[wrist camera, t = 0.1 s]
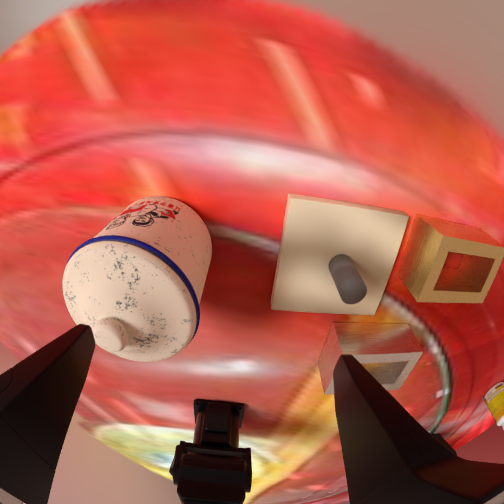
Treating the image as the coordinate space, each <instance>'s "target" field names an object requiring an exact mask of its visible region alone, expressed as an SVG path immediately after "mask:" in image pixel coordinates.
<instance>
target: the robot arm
mask: <svg viewBox="0 0 504 504" xmlns="http://www.w3.org/2000/svg"><path fill="white" fill-rule="evenodd" d="M94 349H95V339H94V335H93V332H92V328H91V327H90V326H89V325H86V324H78V325H77V326H75V327H74V328H72V329H70V330H69V331H67V332H66V333H64V334H63V335H61V336H59V337H58V338H56V339H55V340H53V341H52V342H50V343H48V344H47V345H45V346H44V347H42V348H41V349H39V350H38V351H36V352H35V353H33V354H31V355H30V356H28V357H27V358H25V359H24V360H22V361H21V362H19V363H18V364H16V365H15V366H14V367H13V368H10V369H9V370H7V371H6V372H4V373H2V374H1V375H0V504H23V502H24V503H26V504H47V503H48V499H49V494H50V489H51V486H52V482H53V478H54V474H55V469H56V466H57V463H58V459H59V456H60V453H61V449H62V446H63V443H64V440H65V436H66V434H67V431H68V428H69V425H70V422H71V419H72V416H73V413H74V410H75V407H76V405H77V402H78V399H79V397H80V394H81V391H82V389H83V386H84V383H85V381H86V377H87V374H88V370H89V366H90V363H91V359H92V356H93V353H94ZM333 382H334V397H335V411H336V417H337V423H338V428H339V434H340V440H341V446H342V452H343V459H344V465H345V472H346V478H347V485H348V493H349V500H350V504H504V464H497V463H486V462H478V461H470V460H465V459H462V458H460V457H458V456H457V455H455V454H454V453H453V452H451V451H450V450H449V449H448V448H446V447H445V446H444V445H443V444H442V443H440V442H439V441H438V440H437V439H436V438H434V437H433V436H432V435H431V434H430V433H429V432H428V431H426V430H425V429H424V428H423V427H422V426H421V425H420V424H419V423H418V422H417V421H416V420H415V419H414V418H413V417H412V416H410V414H409V413H408V412H407V411H406V410H405V409H404V408H403V407H402V406H401V405H400V403H399V402H398V401H397V400H396V399H395V398H394V397H393V396H392V395H391V394H390V393H389V392H388V391H387V390H386V389H385V388H384V387H383V386H382V385H381V384H380V383H379V382H378V381H377V380H376V379H375V378H374V377H373V376H372V375H371V374H370V373H369V372H368V371H367V369H366V368H365V367H364V366H363V365H362V364H361V363H360V362H359V361H358V360H357V359H356V358H355V357H354V356H353V355H351V354H342V355H340V357H339V359H338V361H337V363H336V365H335V368H334V370H333ZM243 413H244V405H243V404H237V403H226V402H216V401H207V400H198V399H196V400H194V415H195V423H196V426H195V433H194V440H193V443H188V442H185V441H180V445H177V446H176V451H175V456H174V459H173V462H172V464H171V467H170V470H169V472H170V474H171V475H172V476H173V480H174V484H175V485H178V486H177V493H178V495H179V498H180V501H181V503H182V504H243V502H244V500H245V492H250V490H251V482H252V466H251V448H238V446H239V428H241V424H242V419H243Z"/></svg>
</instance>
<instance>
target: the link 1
mask: <svg viewBox="0 0 504 504" xmlns="http://www.w3.org/2000/svg"><path fill="white" fill-rule="evenodd" d="M422 353H423V350H422V348H421V347H420V345H419V343H418V341H417V339H416V338H415V336H414V334H413V332H412V331H411V329H410V327H409V325H408V324H407V323H346V322H333V323H332V325H331V328H330V331H329V334H328V337H327V339H326V342H325V345H324V347H323V350H322V353H321V355H320V358H319V361H318V366H319V371H320V375H321V380H322V385H323V390H324V394H334V382H333V370H334V368H335V365H336V363H337V361H338V359H339V357H340V355H342V354H351V355H353V356H354V357H355V358H356V359H357V360H358V361H359V362H360V363H361V364H362V365H363V366H364V367H365V368H366V369H367V371H368V372H369V373H370V374H371V375H372V376H373V377H374V378H375V379H376V380H377V381H378V382H379V383H380V384H381V385H382V386H383V387H384V388H385V389H386V390H396V389H399V388H400V387H401V385H402V384H403V383H404V381H405V380H406V378H407V377H408V375H409V374H410V372H411V371H412V369H413V367H414V366H415V364H416V363H417V361H418V360H419V358H420V356H421V355H422Z"/></svg>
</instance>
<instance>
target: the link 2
mask: <svg viewBox="0 0 504 504" xmlns="http://www.w3.org/2000/svg"><path fill="white" fill-rule="evenodd" d="M448 252H455V253H462V254H464V255H463V257H462V260H461V262H460V265H459V267H458V269H455V268H445V267H443V265H444V263H445V260H446V257H447V255H448ZM503 257H504V246H503V245H502V244H500V243H499V242H498V241H497V240H495V239H494V238H493V237H491V236H490V235H489V234H487V233H486V232H484V231H483V230H482V229H480V228H476V227H472V226H468V225H464V224H459V223H455V222H451V221H446V220H442V219H437V218H432V217H428V216H423V215H418V214H416V217H415V220H414V224H413V227H412V230H411V234H410V237H409V240H408V243H407V246H406V249H405V252H404V255H403V258H402V261H401V264H400V266H399V269H398V272H397V275H398V276H399V278H400V279H401V280H402V282H403V283H404V284H405V286H406V287H407V289H408V290H409V291H410V293H411V294H412V296H413V297H414V298H415V300H416V301H417V302H436V303H483V301H484V299H485V297H486V295H487V293H488V291H489V289H490V287H491V284H492V282H493V280H494V278H495V276H496V273H497V271H498V269H499V266H500V264H501V262H502V259H503Z"/></svg>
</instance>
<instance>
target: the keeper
mask: <svg viewBox="0 0 504 504" xmlns="http://www.w3.org/2000/svg"><path fill="white" fill-rule="evenodd" d="M408 218H409V216H408V215H406V214H405V213H404V212H403V211H398V210H392V209H387V208H381V207H376V206H370V205H364V204H358V203H352V202H346V201H339V200H333V199H326V198H319V197H312V196H305V195H297V194H288V200H287V206H286V213H285V219H284V225H283V231H282V237H281V243H280V249H279V255H278V261H277V267H276V273H275V278H274V284H273V290H272V295H271V301H270V302H271V310H284V311H298V312H314V313H333V314H356V315H375V312H376V310H377V307H378V305H379V303H380V300H381V298H382V295H383V292H384V290H385V287H386V285H387V282H388V279H389V276H390V274H391V271H392V268H393V265H394V262H395V259H396V256H397V253H398V250H399V247H400V244H401V241H402V238H403V235H404V232H405V228H406V225H407V221H408Z"/></svg>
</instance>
